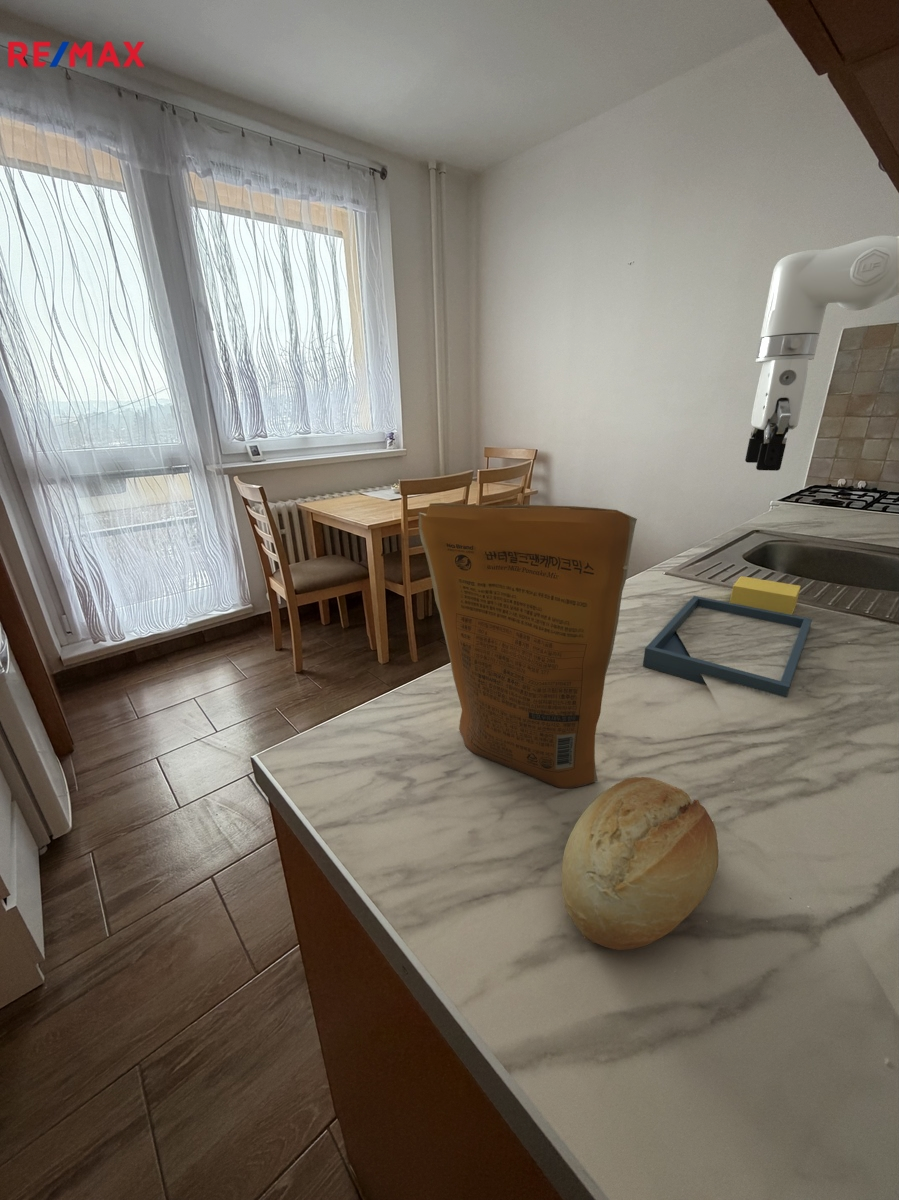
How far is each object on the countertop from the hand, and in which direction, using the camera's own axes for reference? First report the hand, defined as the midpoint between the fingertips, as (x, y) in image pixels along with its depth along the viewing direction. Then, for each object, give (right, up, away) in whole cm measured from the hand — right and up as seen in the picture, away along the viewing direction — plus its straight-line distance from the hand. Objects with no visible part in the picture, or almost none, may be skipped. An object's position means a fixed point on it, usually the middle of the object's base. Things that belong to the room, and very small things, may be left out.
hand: (761, 466), depth 80 cm
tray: (-10, -30, -8) cm, 32 cm away
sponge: (+3, -24, +4) cm, 25 cm away
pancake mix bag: (-44, -40, -28) cm, 66 cm away
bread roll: (-37, -45, -42) cm, 71 cm away
